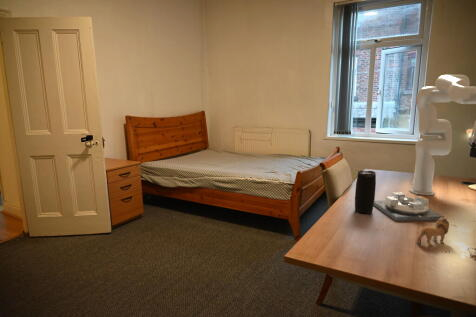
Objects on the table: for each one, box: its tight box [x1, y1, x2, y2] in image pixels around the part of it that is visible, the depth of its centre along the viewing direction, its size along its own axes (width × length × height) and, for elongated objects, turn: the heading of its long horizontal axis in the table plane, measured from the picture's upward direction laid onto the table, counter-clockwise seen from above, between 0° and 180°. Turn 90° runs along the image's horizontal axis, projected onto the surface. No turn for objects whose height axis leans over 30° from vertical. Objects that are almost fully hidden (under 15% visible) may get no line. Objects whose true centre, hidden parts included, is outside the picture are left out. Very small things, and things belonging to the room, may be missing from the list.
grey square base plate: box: [373, 200, 445, 222], centre depth 146 cm, size 22×22×2 cm
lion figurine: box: [416, 217, 450, 247], centre depth 114 cm, size 15×5×9 cm, turn 116°
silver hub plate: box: [384, 191, 430, 215], centre depth 145 cm, size 18×18×5 cm
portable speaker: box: [354, 170, 377, 215], centre depth 144 cm, size 9×9×20 cm
